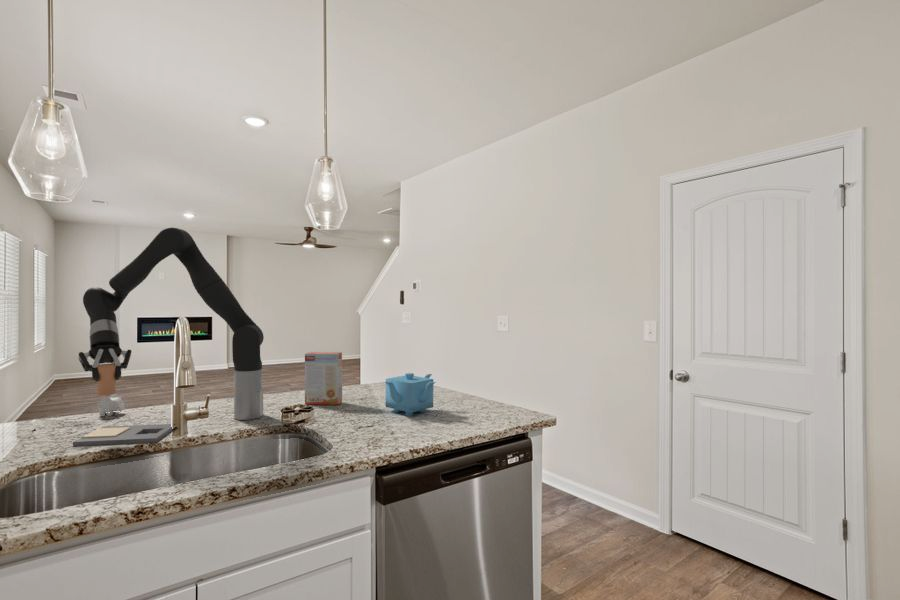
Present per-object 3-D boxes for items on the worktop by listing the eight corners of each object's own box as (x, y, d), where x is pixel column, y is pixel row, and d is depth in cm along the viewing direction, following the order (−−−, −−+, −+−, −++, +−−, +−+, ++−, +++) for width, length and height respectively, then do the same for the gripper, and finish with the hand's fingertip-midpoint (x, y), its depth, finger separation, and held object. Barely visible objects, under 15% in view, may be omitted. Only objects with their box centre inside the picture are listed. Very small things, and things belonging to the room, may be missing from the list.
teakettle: (386, 406, 186) (386, 369, 186) (433, 405, 188) (433, 369, 188) (384, 419, 167) (384, 378, 167) (436, 418, 169) (436, 377, 169)
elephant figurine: (121, 416, 168) (121, 396, 168) (91, 417, 166) (91, 397, 166) (131, 411, 176) (131, 392, 176) (102, 412, 174) (102, 393, 174)
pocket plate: (177, 427, 155) (177, 422, 155) (155, 442, 139) (155, 436, 139) (103, 430, 151) (103, 425, 151) (72, 446, 135) (72, 440, 135)
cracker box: (342, 402, 193) (342, 351, 193) (337, 405, 187) (337, 353, 187) (310, 401, 194) (310, 351, 194) (304, 404, 188) (304, 353, 188)
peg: (118, 392, 146) (118, 363, 146) (110, 395, 142) (110, 365, 142) (102, 392, 146) (102, 363, 146) (94, 395, 141) (94, 366, 141)
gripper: (76, 329, 145) (77, 374, 136) (131, 328, 154) (136, 369, 145) (76, 345, 149) (77, 389, 140) (129, 343, 158) (134, 383, 149)
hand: (107, 378), depth 142 cm, fingers closed on peg, 4 cm apart
